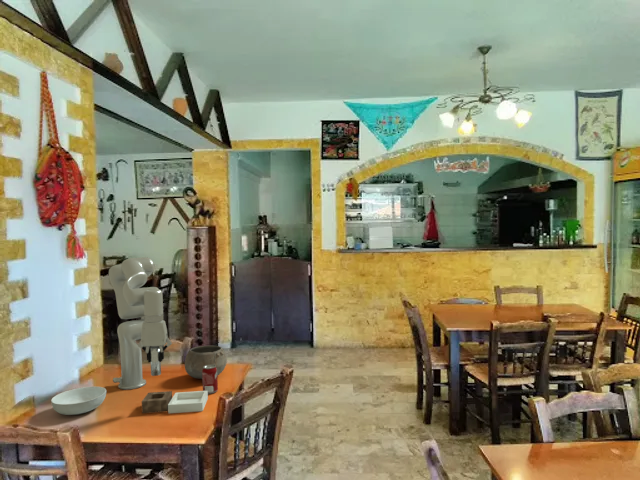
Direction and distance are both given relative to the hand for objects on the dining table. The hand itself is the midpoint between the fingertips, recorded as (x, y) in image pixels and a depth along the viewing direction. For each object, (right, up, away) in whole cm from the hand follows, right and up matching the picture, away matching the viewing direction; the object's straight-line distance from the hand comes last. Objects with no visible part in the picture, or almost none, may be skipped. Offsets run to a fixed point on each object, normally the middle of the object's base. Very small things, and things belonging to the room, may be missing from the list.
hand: (155, 360), depth 191 cm
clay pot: (+12, -19, +38) cm, 44 cm away
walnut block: (+1, -20, 0) cm, 20 cm away
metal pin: (0, -6, 0) cm, 6 cm away
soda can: (+19, -19, +17) cm, 32 cm away
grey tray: (+14, -20, +2) cm, 24 cm away
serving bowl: (-32, -21, 0) cm, 39 cm away
